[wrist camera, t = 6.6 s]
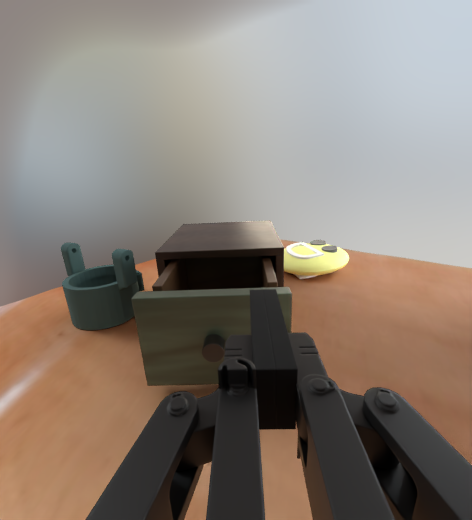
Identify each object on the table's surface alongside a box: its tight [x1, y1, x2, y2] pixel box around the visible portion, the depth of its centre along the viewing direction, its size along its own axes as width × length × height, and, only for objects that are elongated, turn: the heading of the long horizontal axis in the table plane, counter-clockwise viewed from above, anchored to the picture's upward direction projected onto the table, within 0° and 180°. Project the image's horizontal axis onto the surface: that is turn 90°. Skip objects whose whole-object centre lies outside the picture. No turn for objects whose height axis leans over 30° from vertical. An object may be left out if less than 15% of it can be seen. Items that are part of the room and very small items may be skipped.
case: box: [155, 221, 284, 287], centre depth 35 cm, size 14×13×10 cm
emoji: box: [284, 240, 349, 279], centre depth 47 cm, size 4×12×12 cm
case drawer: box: [132, 256, 292, 386], centre depth 26 cm, size 14×11×8 cm
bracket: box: [61, 243, 144, 330], centre depth 35 cm, size 9×9×9 cm
